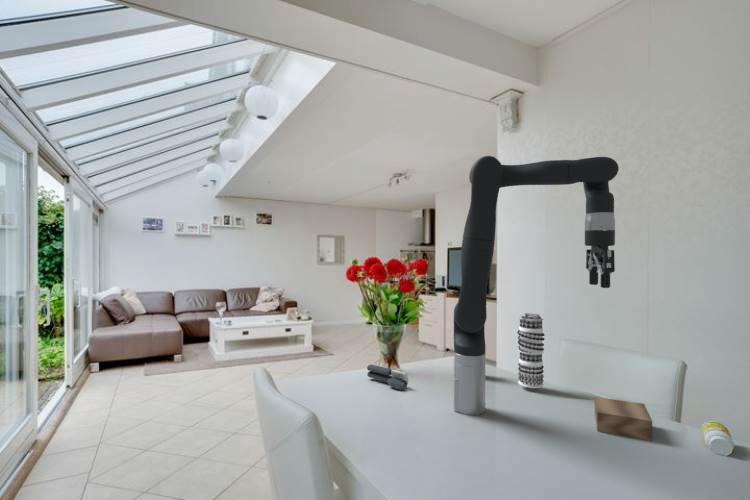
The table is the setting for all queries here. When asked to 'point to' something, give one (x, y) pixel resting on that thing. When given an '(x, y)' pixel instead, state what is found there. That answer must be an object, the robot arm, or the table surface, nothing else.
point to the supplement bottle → (717, 438)
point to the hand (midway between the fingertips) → (599, 286)
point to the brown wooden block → (623, 418)
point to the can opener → (396, 380)
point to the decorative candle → (530, 351)
